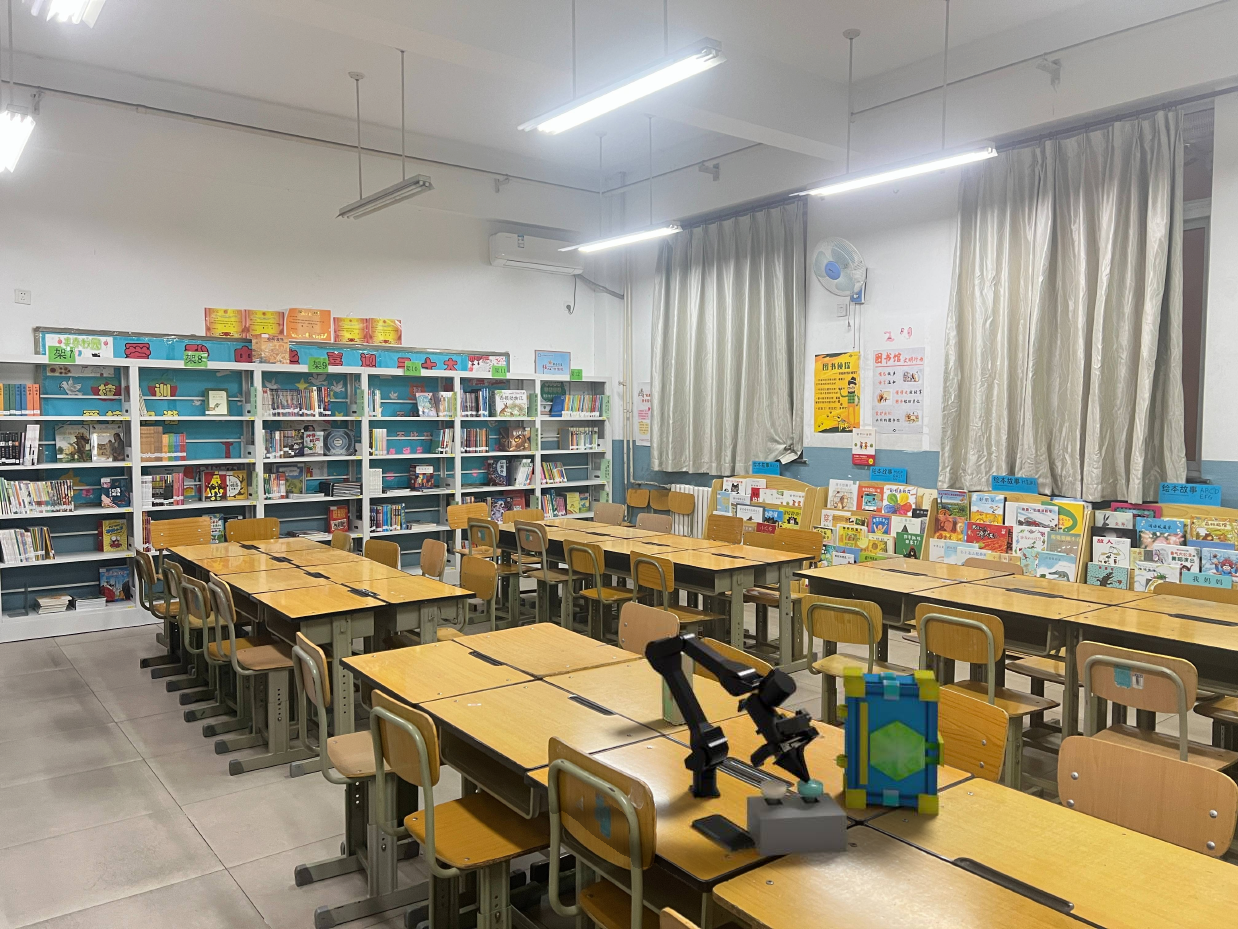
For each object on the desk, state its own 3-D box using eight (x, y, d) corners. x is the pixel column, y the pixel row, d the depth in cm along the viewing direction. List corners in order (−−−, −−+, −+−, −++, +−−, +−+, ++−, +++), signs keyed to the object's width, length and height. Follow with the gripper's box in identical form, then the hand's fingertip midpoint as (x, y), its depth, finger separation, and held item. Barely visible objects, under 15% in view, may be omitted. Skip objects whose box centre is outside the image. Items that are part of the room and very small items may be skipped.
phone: (718, 813, 193) (762, 840, 180) (718, 818, 193) (762, 845, 180) (689, 821, 189) (732, 849, 176) (689, 826, 189) (732, 855, 176)
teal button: (793, 801, 186) (793, 779, 186) (818, 799, 187) (818, 778, 187) (801, 812, 181) (801, 789, 181) (826, 810, 181) (826, 788, 181)
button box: (746, 831, 186) (746, 796, 185) (827, 826, 188) (828, 792, 187) (760, 856, 175) (760, 819, 174) (846, 851, 177) (846, 815, 176)
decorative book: (945, 819, 191) (946, 685, 189) (837, 811, 195) (838, 680, 194) (934, 793, 205) (935, 668, 203) (834, 785, 209) (835, 663, 208)
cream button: (757, 802, 185) (757, 780, 185) (782, 801, 186) (782, 779, 186) (764, 813, 180) (764, 790, 180) (789, 812, 181) (789, 789, 180)
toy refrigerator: (659, 718, 258) (658, 649, 258) (680, 715, 262) (680, 646, 261) (671, 726, 251) (671, 655, 250) (693, 723, 254) (693, 652, 254)
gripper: (761, 708, 181) (805, 775, 173) (812, 689, 194) (855, 751, 186) (732, 735, 187) (773, 801, 179) (783, 716, 200) (824, 776, 192)
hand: (808, 781), depth 184 cm, fingers closed
